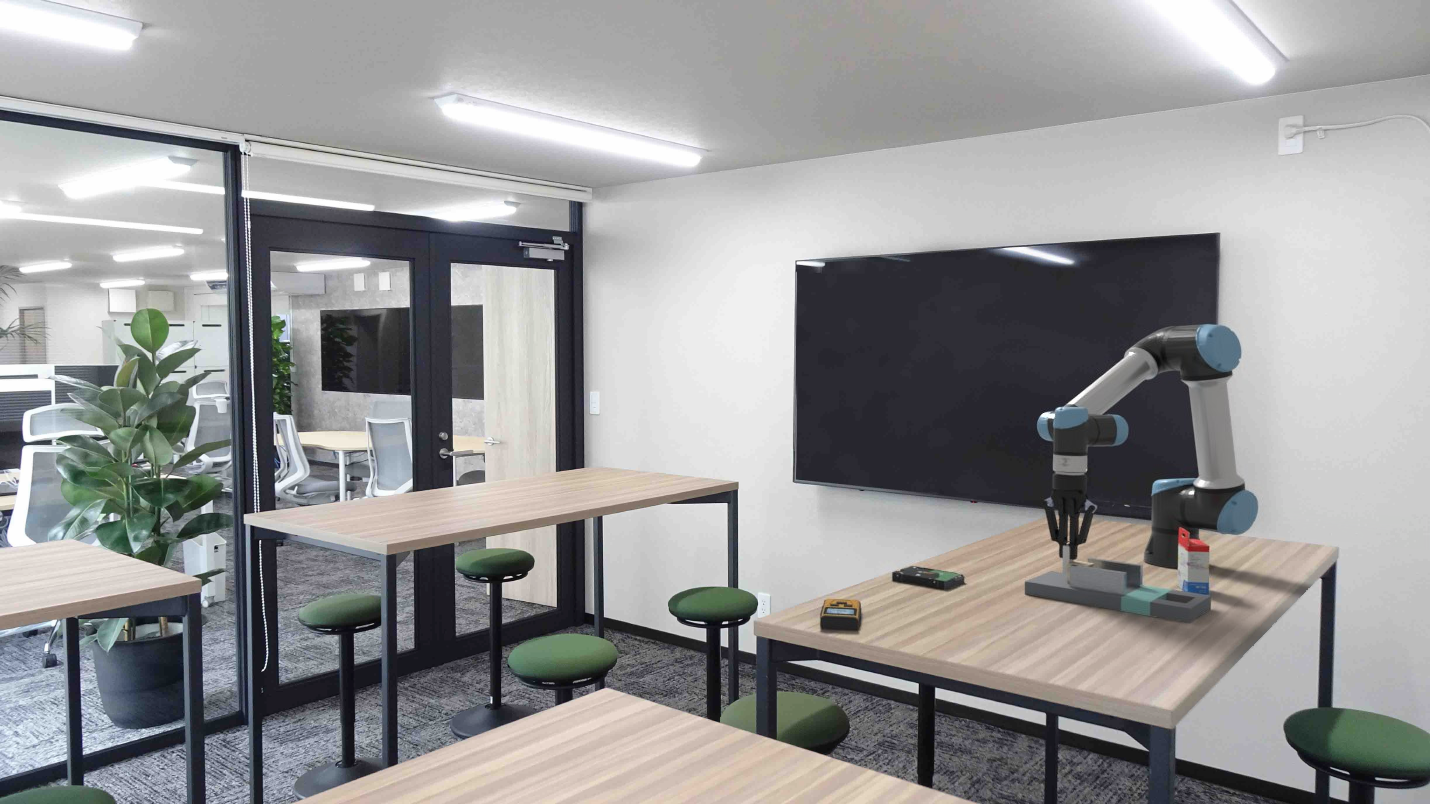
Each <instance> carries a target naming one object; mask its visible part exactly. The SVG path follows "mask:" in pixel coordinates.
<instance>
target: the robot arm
mask: <svg viewBox="0 0 1430 804" xmlns="http://www.w3.org/2000/svg"><path fill="white" fill-rule="evenodd" d="M1241 359H1242V345H1241V341H1240V339H1239V337H1238V336H1237V334H1236V333H1235V331H1233V330H1232V329H1231V328H1230V327H1229V326H1226V325H1223V324H1210V323H1206V324H1191V325H1171V326H1168V327H1163V328H1160V329H1158V330H1156V331H1154V332H1152V333H1151V334H1148V335H1147V336H1145V337H1144V338H1142V339H1140V340H1139V341H1137V342H1136V343H1135V344H1134V345H1132V346H1131V347H1130V348H1129V349H1127V350H1126V351H1125V353H1124V355H1123V358H1122V359H1120V361H1119V362H1117V363H1115V364H1114V366H1112V367H1111V368H1110V369H1108V370H1107V371H1106V372H1105V373H1104V374H1103V375H1101V376H1100V377H1099V378H1097V379H1096V380H1095V381H1094V382H1092V384H1090V385H1089V386H1087V387H1086V388H1085V389H1084V390H1083V391H1081V392H1080V393H1079V394H1078V395H1076V396H1075V397H1074V398H1073V399H1071V400H1070V401H1068V403H1066V404H1064V406H1059V407H1056V408H1055V410H1051V411H1046V412H1044V413H1042V414H1041V415H1040V416H1039V418H1038V420H1037V424H1036V428H1037V432H1038V434H1039V436H1040V437H1041V438H1042V439H1044V440H1045V441H1049V442H1052V443H1053V450H1052V451H1053V453H1052V455H1053V456H1052V457H1053V458H1052V470H1053V471H1054V473H1053V474H1052V492H1051V493H1050V497H1048V498H1046V499H1043V500H1041V502H1040V504H1041V506H1042V508H1043V509H1044V511H1045V516H1046V520H1047V521H1046V522H1047V525H1048V530H1049V535H1050V539H1051V541H1052V542H1056V543H1057V544H1058V547H1059V548H1058V556H1059V559H1062V571H1061V573H1065V574H1067V563H1070V562H1072V561H1076V560H1077V559H1078V550H1079V549H1078V547H1079V545H1084V544H1086V543H1087V539H1088V536H1089V532H1090V529H1091V526H1092V521H1093V518H1094V515H1095V513H1096V512H1097V510H1098V508H1099V505H1098V504H1094V503H1092V502H1091V501H1090V500H1089V496H1088V493H1087V489H1088V487H1087V485H1088V483H1087V482H1088V476H1087V474H1086V473H1087V471H1088V448H1089V447H1110V448H1111V447H1114V446H1120V445H1122V444H1123V443H1125V442H1126V440H1127V438H1128V437H1129V436H1128V435H1129V425H1128V422H1127V421H1126V419H1125V418H1124V417H1122V416H1121V415H1118V414H1113V413H1112V414H1110V413H1107V414H1105V412H1107V411H1108V410H1110V409H1111V408H1112V407H1113V406H1115V405H1116V404H1117V403H1118V402H1119V401H1120V400H1121V399H1123V398H1125V396H1127V395H1128V394H1129V393H1131V391H1133V390H1134V389H1135V388H1137V387H1138V386H1139V385H1140V384H1141V383H1142V382H1143V381H1145V380H1152V379H1154V378H1155V377H1156V376H1158V375H1159V374H1162V373H1164V372H1165V373H1166V372H1169V371H1170V372H1171V371H1174V372H1175V371H1176V372H1177V371H1178V372H1180V373H1179V374H1180V381H1181V382H1183V383H1184V384H1185V385H1187V386H1188V391H1189V393H1188V394H1189V401H1190V408H1191V416H1192V417H1191V419H1192V427H1193V434H1194V443H1195V444H1194V445H1195V452H1196V460H1197V461H1196V462H1197V468H1198V469H1197V471H1198V477H1197V478H1195V477H1192V478H1191V477H1190V478H1189V477H1188V478H1167V479H1165V478H1164V479H1157V480H1155V481H1154V482H1153V483H1152V488H1151V495H1150V496H1151V524H1150V525H1151V532H1150V535H1149V538H1148V540H1147V543H1146V546H1145V548H1144V551H1143V561H1144V562H1145V563H1147V564H1150V565H1154V566H1159V567H1165V568H1175V569H1178V539H1179V528H1180V527H1181V528H1183V529H1185V530H1186V531H1188V532H1189V533H1190V538H1189V539H1197V540H1200V541H1201V538H1200V530H1203V531H1208V532H1212V533H1217V534H1221V535H1231V536H1232V535H1233V536H1239V535H1243V534H1244V533H1246V532H1247V531H1249V530H1250V529H1251V527H1253V525H1254V522H1255V521H1256V519H1257V516H1258V512H1259V500H1258V499H1257V495H1255V494H1254V493H1253V492H1252V491H1250V490H1249V489H1246V484H1245V483H1246V482H1245V479H1244V478H1243V477H1241V476H1240V475H1239V474H1238V472H1237V471H1238V470H1237V463H1236V454H1235V445H1234V437H1233V429H1232V418H1231V417H1232V416H1231V409H1230V399H1229V392H1228V384H1227V383H1228V382H1229V380H1230V379H1231V378H1232V377H1233V376H1234V374H1233V370H1236V368H1237V367H1238V366H1239V364H1240V363H1241V362H1240V360H1241ZM1054 505H1055V507H1056V508H1057V512H1058V514H1057V515H1058V520H1057V517H1056V516H1057V515H1056V512H1055V511H1056V510H1055V507H1054ZM1083 508H1084V510H1085V512H1084V514H1083V518H1082V521H1081V525H1080V514H1081V510H1083ZM1079 525H1080V526H1079ZM1068 534H1069V536H1068ZM1183 536H1184V537H1185V534H1183Z"/></svg>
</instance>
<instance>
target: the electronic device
mask: <svg viewBox="0 0 1430 804" xmlns="http://www.w3.org/2000/svg"><path fill="white" fill-rule="evenodd" d="M861 620H862V603H861V601H860V600H857V599H848V598H847V599H844V598H839V599H838V598H827V599H824V600H823V604H822V606H821V610H820V618H819V622H820V623H819V624H820V629H821V630H827V631H828V630H830V631H850V632H851V631H853V632H858V631H859V627H860V622H861Z"/></svg>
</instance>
